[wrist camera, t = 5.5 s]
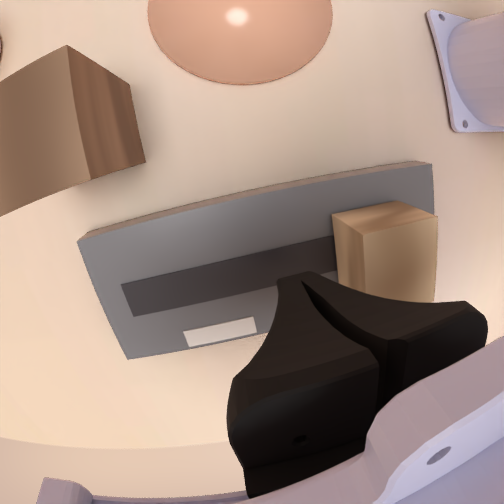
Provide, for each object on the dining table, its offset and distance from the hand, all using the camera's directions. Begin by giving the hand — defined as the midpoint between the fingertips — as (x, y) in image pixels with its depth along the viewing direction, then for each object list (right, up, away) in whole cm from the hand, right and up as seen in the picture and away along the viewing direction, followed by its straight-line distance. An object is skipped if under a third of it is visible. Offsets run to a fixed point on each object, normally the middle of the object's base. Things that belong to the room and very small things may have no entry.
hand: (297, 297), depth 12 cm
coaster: (-2, +14, 0) cm, 14 cm away
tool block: (-9, +7, +1) cm, 12 cm away
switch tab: (+4, +2, +3) cm, 5 cm away
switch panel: (-1, +2, +4) cm, 5 cm away
